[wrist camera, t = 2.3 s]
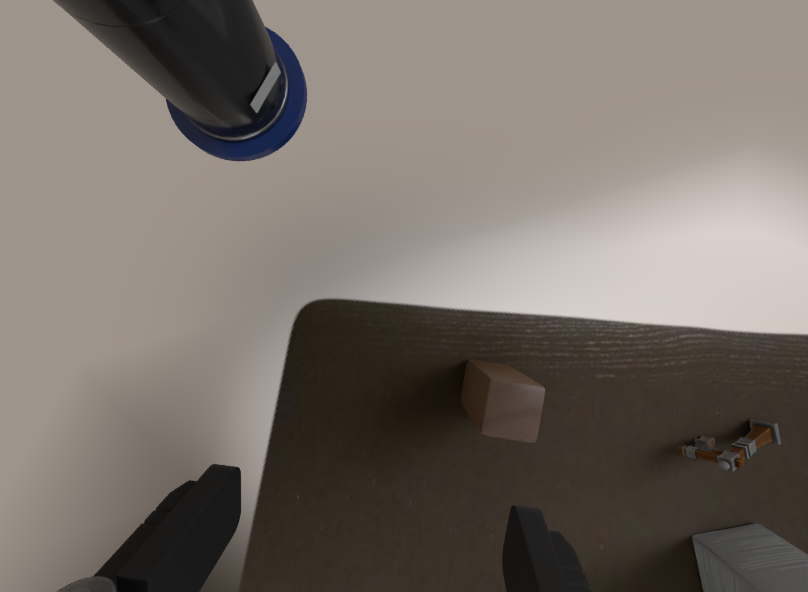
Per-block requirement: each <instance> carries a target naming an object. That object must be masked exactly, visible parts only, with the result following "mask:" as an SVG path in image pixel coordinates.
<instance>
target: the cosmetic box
mask: <svg viewBox="0 0 808 592" xmlns="http://www.w3.org/2000/svg"><path fill="white" fill-rule="evenodd" d="M692 541H693V545H694V550H695V554H696V559H697V564H698V568H699V573H700V578H701V583H702V588H703V592H808V554H806V553H804V552H803V551H801V550H800V549H798V548H796V547H795V546H793V545H792V544H790V543H788V542H787V541H785V540H784V539H782V538H781V537H779V536H778V535H776V534H774V533H773V532H771V531H770V530H768V529H766V528H765V527H763V526H762V525H760V524H757V523H755V524H750V525H745V526H740V527H735V528H729V529H724V530H718V531H712V532H707V533H702V534H697V535H693V536H692Z"/></svg>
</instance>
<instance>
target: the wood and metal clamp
mask: <svg viewBox="0 0 808 592" xmlns="http://www.w3.org/2000/svg"><path fill="white" fill-rule="evenodd" d="M750 426H751V431H750V432H749V433H748V435H747V436H746V437H745V438H741V437H740V439H739V440H738V441H736V442H734V443H732V445H731V447H732V448H731V449H730V450H729V451H710V449H712V448H716V446H715V440H714V438H713V437H708V436H704V435H701V436H702V437H701V438H700V439H696V438H695V439H694V440H695V447H693V446H688V447H687V446H683V445H679V446H678V447H677V450H678V454H683V455H687V457H690V458H694V459H697V458H700V459H704V460H708V461H712V462H716V463H718V467H719V468H720V469H722V470H729V471H733V472H734V470H735V469H736V468H737V467H738V468H741V467H743V466H744V461H743V459H748V458H749V457H751V455H752V454H753V453H754V452H757V450H756V448H758V447H759V446H761V445H763V444H766V443H772V444H777V445H778V444H781V440H780V435H779V431H778V426H777V423H773V422H767V421H760V420H754V419H751V421H750Z"/></svg>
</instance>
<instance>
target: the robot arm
mask: <svg viewBox="0 0 808 592" xmlns="http://www.w3.org/2000/svg"><path fill="white" fill-rule="evenodd" d="M53 1H55V2H56V3H57V4H58V5H59V6H61V7H62V8H63V9H64V10H65V11H66V12H68V13H69V14H70V15H71V16H72V17H73V18H74V19H76V20H77V21H78V22H79V23H80V24H81V25H82V26H84V27H85V28H86V29H87V30H88V31H89V32H90V33H92V34H93V35H94V36H95V37H96V38H97V39H98V40H100V41H101V42H102V43H103V44H104V45H105V46H106V47H108V48H109V49H110V50H111V51H112V52H113V53H115V54H116V55H117V56H118V57H119V58H120V59H121V60H123V61H124V62H125V63H126V64H127V65H128V66H129V67H131V68H132V69H133V70H134V71H135V72H136V73H137V74H139V75H140V76H141V77H142V78H143V79H144V80H145V81H147V82H148V83H149V84H150V85H151V86H153V88H155V89H156V90H157V91H158V92H159V93H160V94H162V95H163V96H164V97H165V98H166V99H167V100H168V101H170V102H171V103H172V104H173V105H174V106H175V107H176V108H177V109H178V110H180V111H181V112H182V113H183V114H184V115H185V116H186V117H187V118H188V119H189V120H190V121H191V122H192V123H193V124H194V125H195V126H196V127H197V128H198V129H200V130H201V131H202V132H204V133H205V134H207V135H209V136H210V137H213V138H215V139H218V140H221V141H226V142H245V141H249V140H253V139H256V138H258V137H260V136H262V135H264V134H265V133H267V132H268V131H269V130H271V129H272V128H273V127H274V126H275V125H276V124H277V123H278V121H279V120H280V119H281V117H282V115H283V114H284V111H285V109H286V107H287V104H288V99H289V91H290V86H289V78H288V74H287V71H286V68H285V66H284V64H283V62H282V60H281V58H280V56H279V54H278V53H277V51H276V50H275V48H274V46H273V43H272V41H271V39H270V37H269V34H268V32H267V30H266V28H265V26H264V24H263V22H262V20H261V18H260V16H259V13H258V11H257V9H256V7H255V5H254V3H253V1H252V0H53ZM240 514H241V471H240V469H239V468H238V467H233V466H225V465H217V464H213V465H211V466H210V467H209V468H208V469H207V470H206V471H205V472H204V474H203V475H202V476H201V477H200V478H199V479H198V481H190V480H189V481H188V482H186V483H184V484H183V485H181V486H180V487H178V488H177V489H175V490H174V491H172V492H170V493H169V495H168V496H167V497H166V498H165V499H164V500H163V501H162V502H161V503H160V504H159V506H158V507H157V508H156V510H155V511H153V512H152V513H151V514H150V515H149V516H148V518H147V519H146V520H145V522H144V524H141V525H140V526H139V527H138V528H137V529H136V530H135V532H134V533H133V534H132V535H131V536H130V537H129V538H128V539H127V540H126V541H125V542H124V544H123V545H122V546H121V547H120V548H119V549H118V550H117V551H116V552H115V553H114V554H113V555H112V557H111V558H110V559H109V560H108V561H107V562H106V563H105V564H104V565H103V567H101V569H100V570H99V571H98V572H97V573H96V574H95V575H94V576H93V577H88V578H84V579H81V580H78V581H75V582H73V583H71V584H69V585H67V586H65V587H63V588H62V589H60V590H58V591H57V592H199V591H200V589H201V588H202V586H203V584H204V583H205V581H206V579H207V578H208V576H209V574H210V573H211V571H212V570H213V568H214V566H215V565H216V563H217V561H218V560H219V558H220V556H221V555H222V553H223V551H224V550H225V548H226V546H227V545H228V543H229V542H230V540H231V538H232V536H233V535H234V533H235V531H236V528H237V526H238V523H239V519H240ZM502 563H503V574H504V580H505V585H506V590H507V592H591V590H589V584H588V582H587V580H586V577H585V575H584V573H582V568H581V565H580V563H579V560H578V558H577V555H576V553H575V551H574V549H573V548H572V547H571V545H570V544H569V543H568V542H567V541H566V539H565V538H564V537H563V536H562V534H561V533H560V532H553V531H548V529H547V526H546V523H545V520H544V517H543V515H542V512H541V510H540V509H537V508H529V507H522V506H515V505H513V506H512V507H511V510H510V515H509V520H508V525H507V530H506V536H505V541H504V546H503V556H502Z"/></svg>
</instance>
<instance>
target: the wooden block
mask: <svg viewBox="0 0 808 592" xmlns="http://www.w3.org/2000/svg"><path fill="white" fill-rule="evenodd" d="M544 396H545V388H544V387H543V386H542V385H540V384H538V383H537V382H535V381H533V380H532V379H530V378H528V377H527V376H525V375H523V374H522V373H520V372H518V371H517V370H515V369H513V368H512V367H510V366H508V365H503V364H497V363H491V362H486V361H480V360H474V359H471V360H468V362H467V364H466V370H465V376H464V381H463V387H462V393H461V399H460V400H461V404H462V405H463V407H464V408H465V410H466V411H467V413H468V415H469V416H470V418H471V419H472V421H473V422H474V424H475V425H476V427H477V429H478V430H479V432H480V433H481V434H483V435H486V436H492V437H498V438H504V439H510V440H516V441H522V442H528V443H534V442H536V440H537V436H538V430H539V425H540V419H541V413H542V407H543V401H544Z"/></svg>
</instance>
